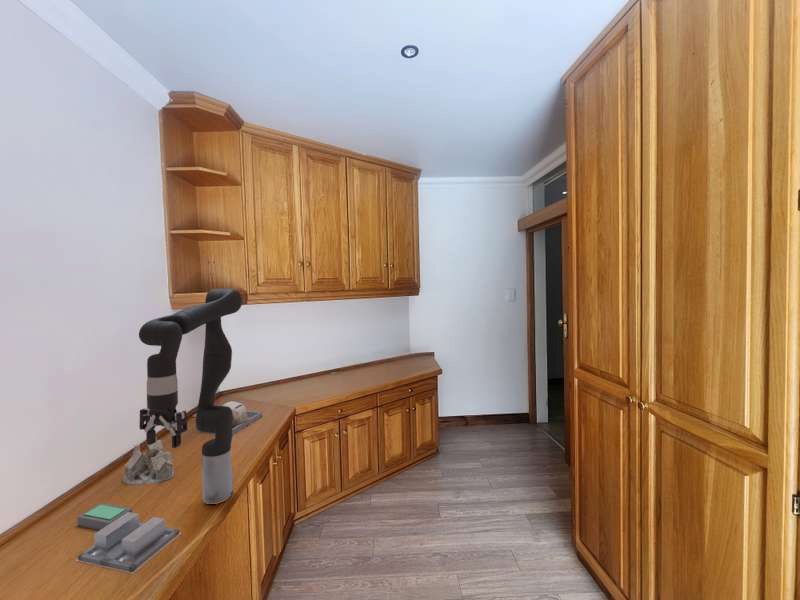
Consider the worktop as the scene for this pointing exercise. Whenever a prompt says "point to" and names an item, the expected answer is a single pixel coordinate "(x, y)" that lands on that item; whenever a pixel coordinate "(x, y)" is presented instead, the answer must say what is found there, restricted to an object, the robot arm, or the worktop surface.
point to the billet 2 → (143, 539)
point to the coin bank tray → (249, 413)
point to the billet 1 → (115, 533)
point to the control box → (99, 523)
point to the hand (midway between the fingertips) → (163, 445)
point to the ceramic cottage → (149, 465)
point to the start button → (104, 512)
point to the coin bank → (237, 412)
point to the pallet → (115, 557)
